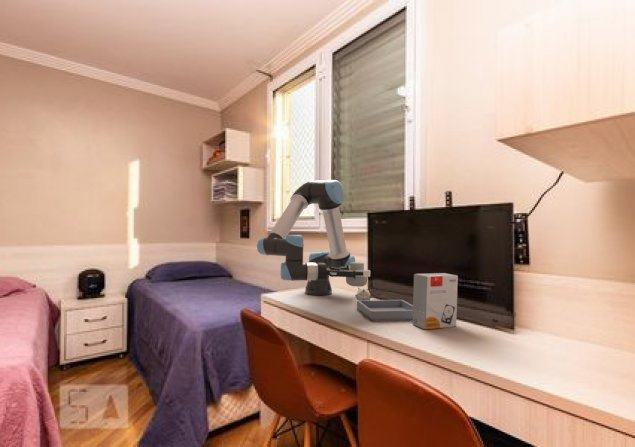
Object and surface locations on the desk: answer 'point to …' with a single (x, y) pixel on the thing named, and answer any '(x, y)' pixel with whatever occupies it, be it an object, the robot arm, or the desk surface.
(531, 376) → the desk surface
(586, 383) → the desk surface
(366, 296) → the game die
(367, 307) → the tray
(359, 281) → the air freshener
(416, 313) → the hard drive box
